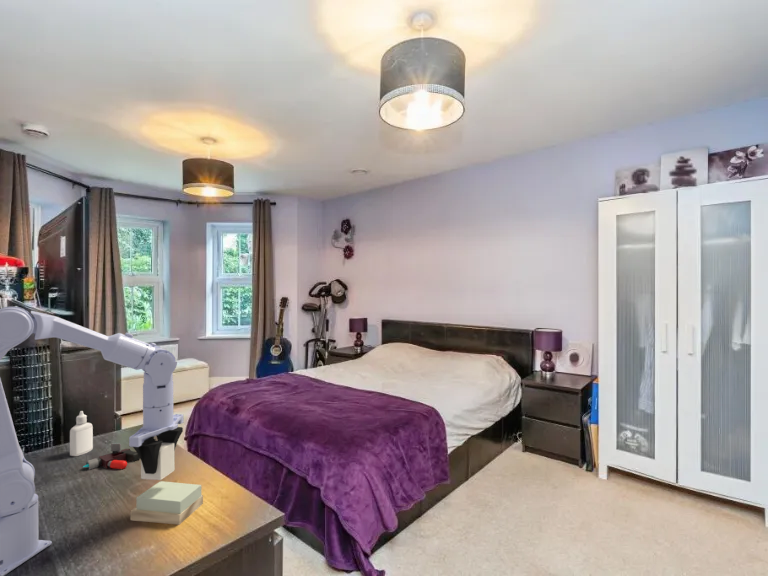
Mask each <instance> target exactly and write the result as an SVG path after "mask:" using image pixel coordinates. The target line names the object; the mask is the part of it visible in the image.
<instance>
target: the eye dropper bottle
mask: <svg viewBox="0 0 768 576" xmlns="http://www.w3.org/2000/svg"><path fill="white" fill-rule="evenodd" d="M87 417H88V415H86V414H84V411H83V410H80V411H79V414H78V415H77V416H76V417H75V422H76V424H75V425H74V426H73V427H71V428H70V430H69V456H70V457H78V456H82V455H85V454H87V453H90V452H91V451H92V450H93V448H94V439H93V438H94V434H93V433H94V431H93V429H94V427H93V424H92V423H91V422H87V420H88V419H87Z"/></svg>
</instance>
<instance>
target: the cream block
mask: <svg viewBox="0 0 768 576" xmlns="http://www.w3.org/2000/svg"><path fill="white" fill-rule="evenodd" d="M175 465H176V464H175V451H174V443H163V442H162V445H161V447H160V450H159V455H158V465H157V471H156V473H154V474H146V473H145V471H144V468H143V464H142V462H141V461H140V479H141V480H156V481H162V480H163V479H164V478H166V477H168V476H169V475H170V474H171V473H173V472H175V468H176V467H175Z"/></svg>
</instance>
